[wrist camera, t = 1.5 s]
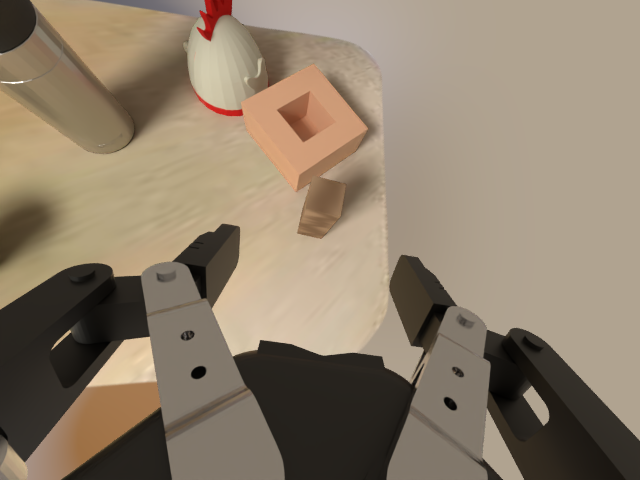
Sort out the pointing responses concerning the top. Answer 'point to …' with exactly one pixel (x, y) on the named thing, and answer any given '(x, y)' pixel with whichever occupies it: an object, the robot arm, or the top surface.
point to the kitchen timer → (224, 60)
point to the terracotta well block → (303, 125)
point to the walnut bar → (321, 207)
